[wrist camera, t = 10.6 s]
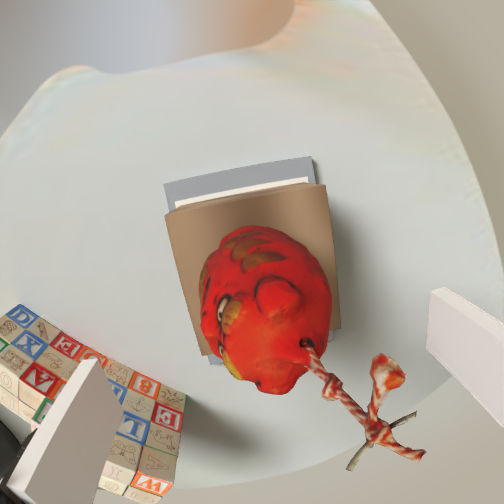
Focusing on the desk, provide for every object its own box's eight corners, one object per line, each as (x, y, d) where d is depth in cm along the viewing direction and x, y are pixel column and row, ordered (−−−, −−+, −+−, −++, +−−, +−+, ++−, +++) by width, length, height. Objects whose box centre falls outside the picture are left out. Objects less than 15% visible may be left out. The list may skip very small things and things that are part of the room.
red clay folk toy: (195, 225, 18) (90, 389, 4) (310, 213, 19) (496, 327, 4) (212, 336, 20) (195, 551, 6) (314, 324, 21) (408, 514, 6)
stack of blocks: (15, 342, 27) (-41, 398, 15) (20, 301, 26) (-48, 355, 14) (169, 425, 31) (153, 509, 19) (188, 393, 30) (175, 486, 18)
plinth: (207, 318, 26) (202, 355, 21) (180, 205, 24) (164, 215, 18) (319, 296, 27) (340, 328, 21) (303, 182, 24) (325, 185, 18)
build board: (210, 360, 29) (210, 365, 28) (165, 183, 24) (163, 183, 23) (331, 336, 29) (333, 340, 28) (308, 156, 24) (311, 156, 24)
